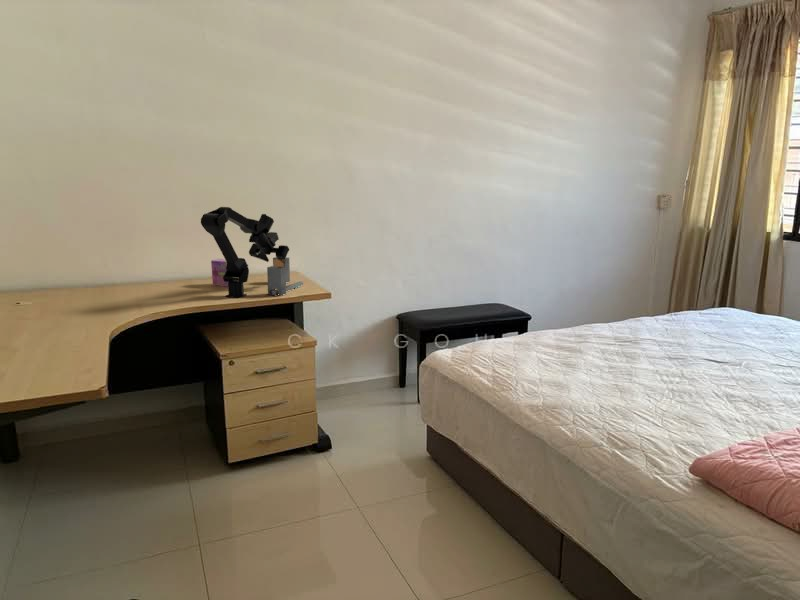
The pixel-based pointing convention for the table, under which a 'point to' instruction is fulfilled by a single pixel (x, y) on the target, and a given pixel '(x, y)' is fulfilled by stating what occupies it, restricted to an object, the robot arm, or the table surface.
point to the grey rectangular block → (281, 264)
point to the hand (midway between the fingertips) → (276, 261)
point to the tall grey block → (276, 279)
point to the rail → (288, 287)
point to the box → (219, 271)
